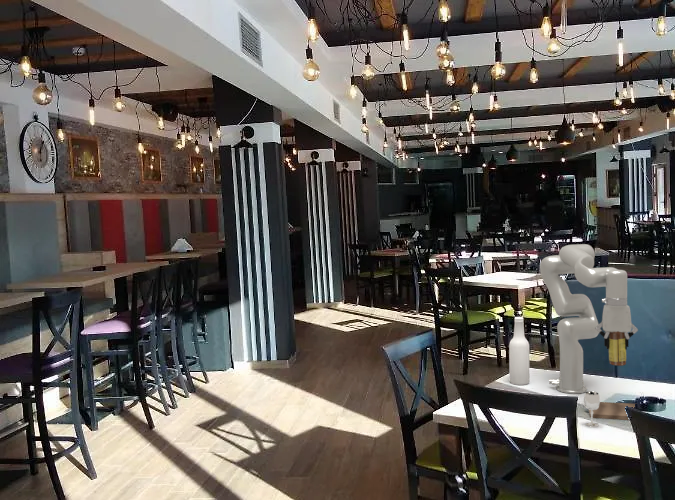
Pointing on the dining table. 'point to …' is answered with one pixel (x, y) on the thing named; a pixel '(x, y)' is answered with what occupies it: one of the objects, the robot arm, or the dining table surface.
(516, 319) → the alcohol
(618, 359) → the sauce bottle
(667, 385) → the dining table surface
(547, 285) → the robot arm
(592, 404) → the wineglass
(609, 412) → the walnut board
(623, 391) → the dining table surface
